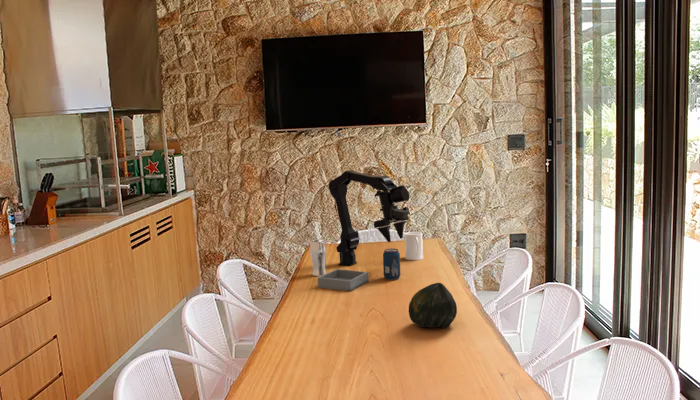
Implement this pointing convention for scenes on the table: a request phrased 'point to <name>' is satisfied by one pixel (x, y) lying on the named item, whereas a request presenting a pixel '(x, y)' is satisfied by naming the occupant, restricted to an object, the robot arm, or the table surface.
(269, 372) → the table surface
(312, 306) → the table surface
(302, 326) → the table surface
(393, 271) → the soda can
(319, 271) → the beer glass
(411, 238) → the mug
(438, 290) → the squash
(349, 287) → the open box
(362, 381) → the table surface
